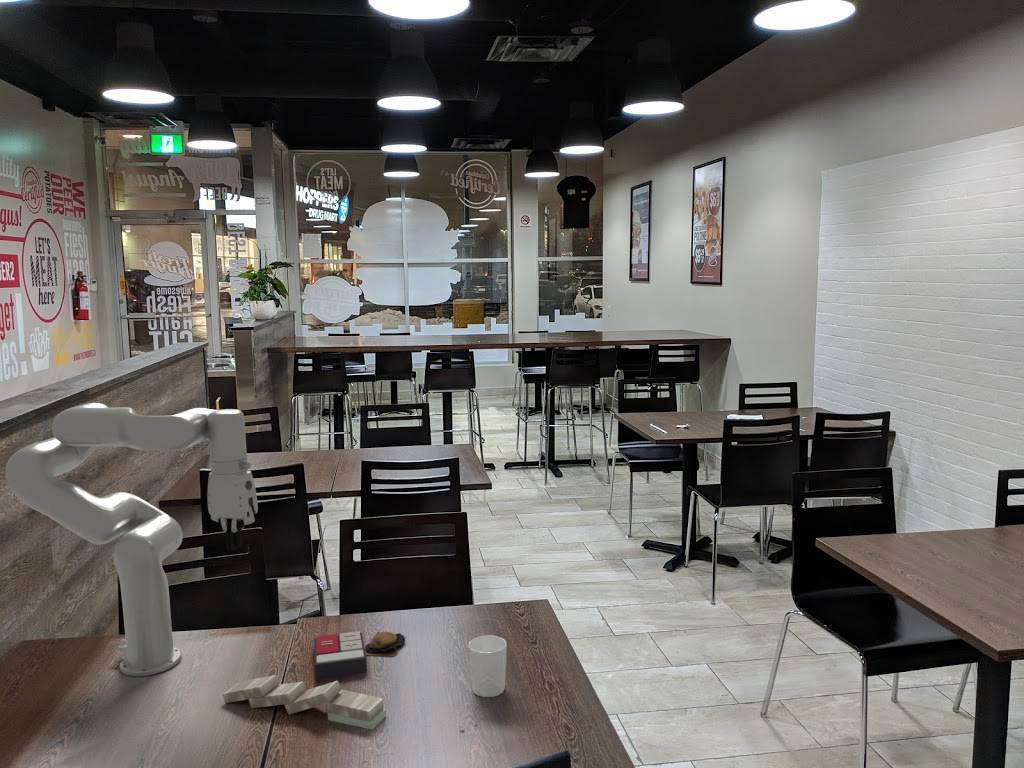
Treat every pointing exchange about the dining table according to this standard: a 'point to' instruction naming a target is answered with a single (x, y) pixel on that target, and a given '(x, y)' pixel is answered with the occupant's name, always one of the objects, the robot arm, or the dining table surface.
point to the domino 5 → (358, 720)
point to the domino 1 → (250, 689)
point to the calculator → (339, 655)
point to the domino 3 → (314, 697)
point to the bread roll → (385, 644)
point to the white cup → (488, 665)
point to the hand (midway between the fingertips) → (234, 547)
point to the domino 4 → (355, 705)
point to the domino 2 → (279, 695)
